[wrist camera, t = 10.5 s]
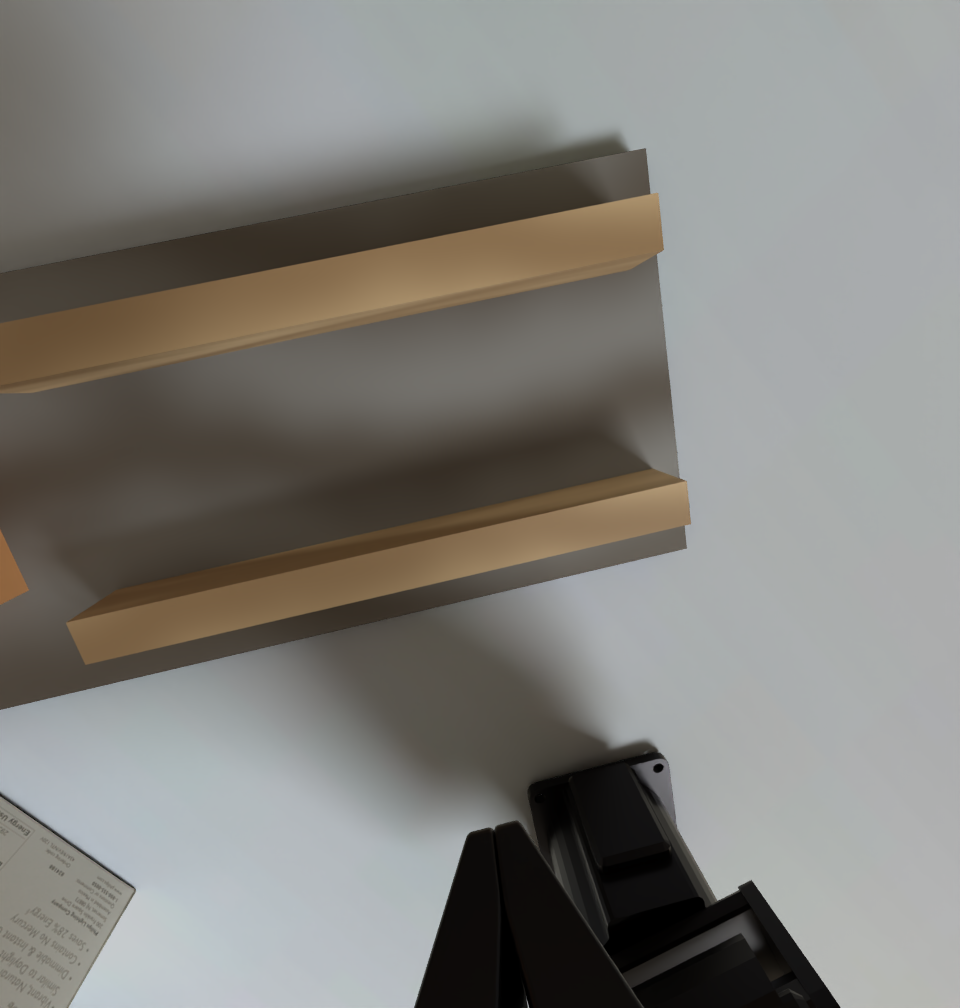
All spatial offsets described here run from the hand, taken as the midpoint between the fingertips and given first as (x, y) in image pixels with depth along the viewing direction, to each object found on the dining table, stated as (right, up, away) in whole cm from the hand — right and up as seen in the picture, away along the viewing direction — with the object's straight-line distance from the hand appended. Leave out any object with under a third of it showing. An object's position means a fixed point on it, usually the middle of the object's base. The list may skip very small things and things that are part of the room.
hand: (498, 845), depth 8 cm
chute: (-10, +7, +10) cm, 15 cm away
